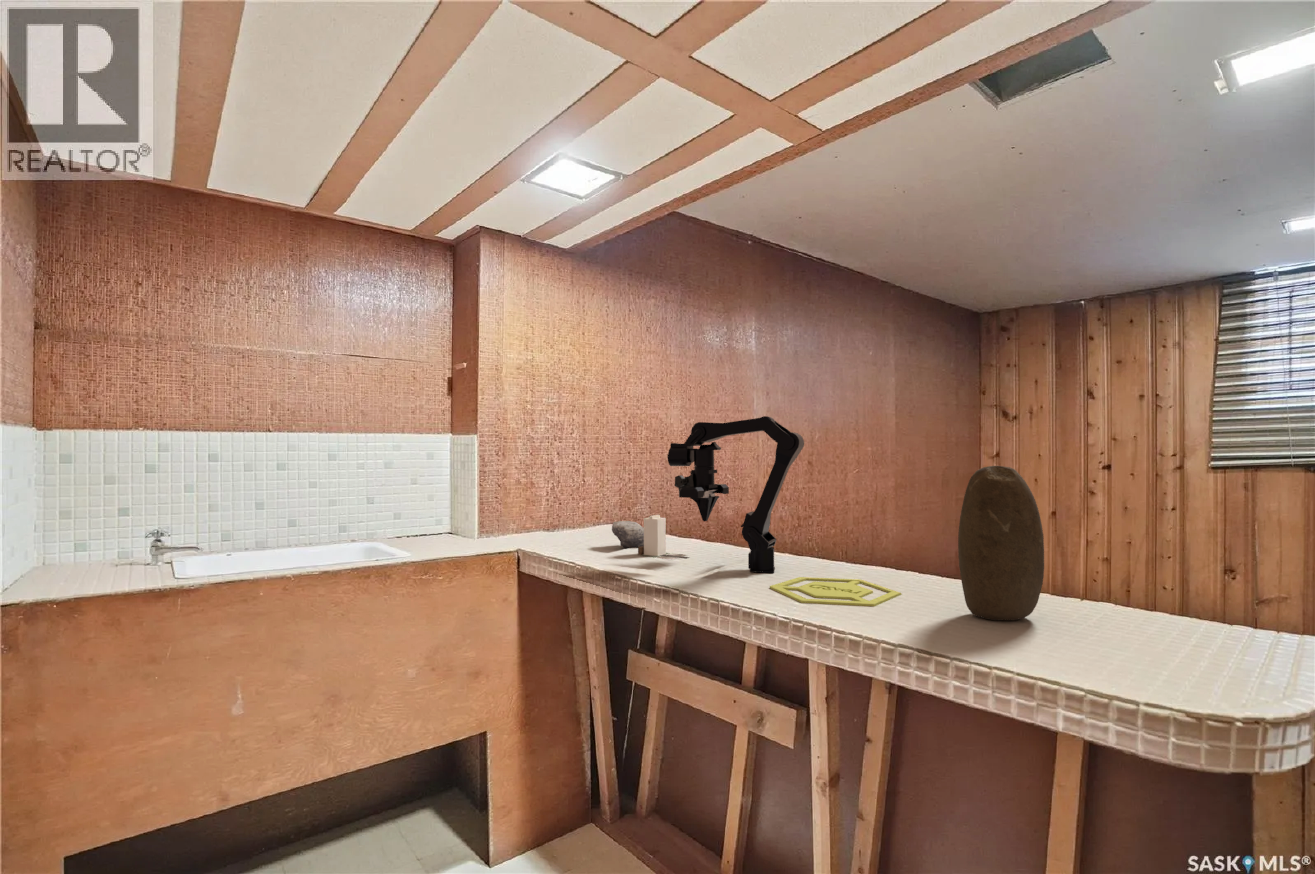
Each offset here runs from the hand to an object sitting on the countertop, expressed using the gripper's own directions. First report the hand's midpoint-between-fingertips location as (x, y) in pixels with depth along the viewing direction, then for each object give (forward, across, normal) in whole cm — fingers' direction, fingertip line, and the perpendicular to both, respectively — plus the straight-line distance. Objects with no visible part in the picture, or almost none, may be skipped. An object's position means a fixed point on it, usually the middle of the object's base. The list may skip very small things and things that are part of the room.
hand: (705, 521), depth 180 cm
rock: (+13, -14, -37) cm, 41 cm away
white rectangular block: (+11, -2, -19) cm, 22 cm away
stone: (+14, +14, +76) cm, 78 cm away
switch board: (+13, -2, -15) cm, 20 cm away
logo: (+14, +10, +41) cm, 44 cm away
